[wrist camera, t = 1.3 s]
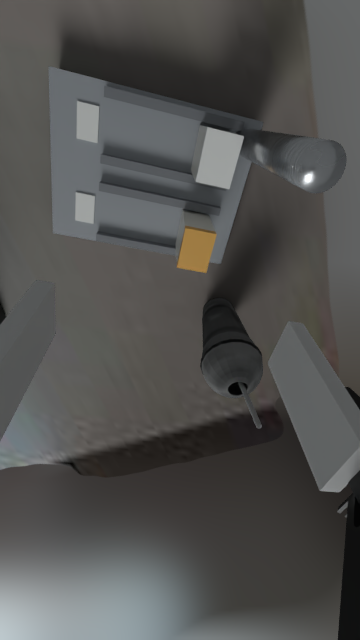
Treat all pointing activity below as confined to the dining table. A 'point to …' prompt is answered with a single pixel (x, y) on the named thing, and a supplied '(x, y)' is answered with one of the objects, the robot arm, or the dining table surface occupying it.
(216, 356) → the beverage cup
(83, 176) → the panel
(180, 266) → the grey orange block
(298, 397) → the robot arm
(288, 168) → the post
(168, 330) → the dining table surface
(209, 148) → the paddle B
